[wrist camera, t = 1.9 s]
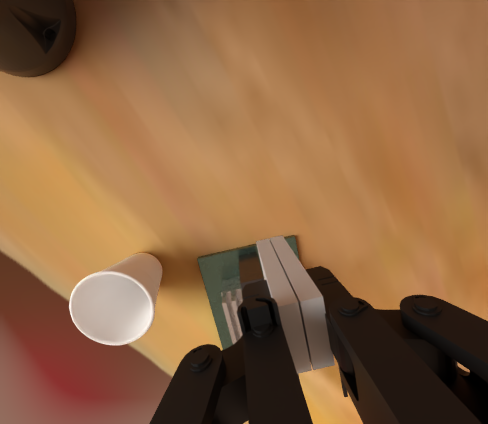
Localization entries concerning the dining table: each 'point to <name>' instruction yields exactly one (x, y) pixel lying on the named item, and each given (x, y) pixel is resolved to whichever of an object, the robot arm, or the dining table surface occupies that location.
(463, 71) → the dining table surface
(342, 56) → the dining table surface
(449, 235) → the dining table surface
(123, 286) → the cup
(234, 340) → the green circuit board
